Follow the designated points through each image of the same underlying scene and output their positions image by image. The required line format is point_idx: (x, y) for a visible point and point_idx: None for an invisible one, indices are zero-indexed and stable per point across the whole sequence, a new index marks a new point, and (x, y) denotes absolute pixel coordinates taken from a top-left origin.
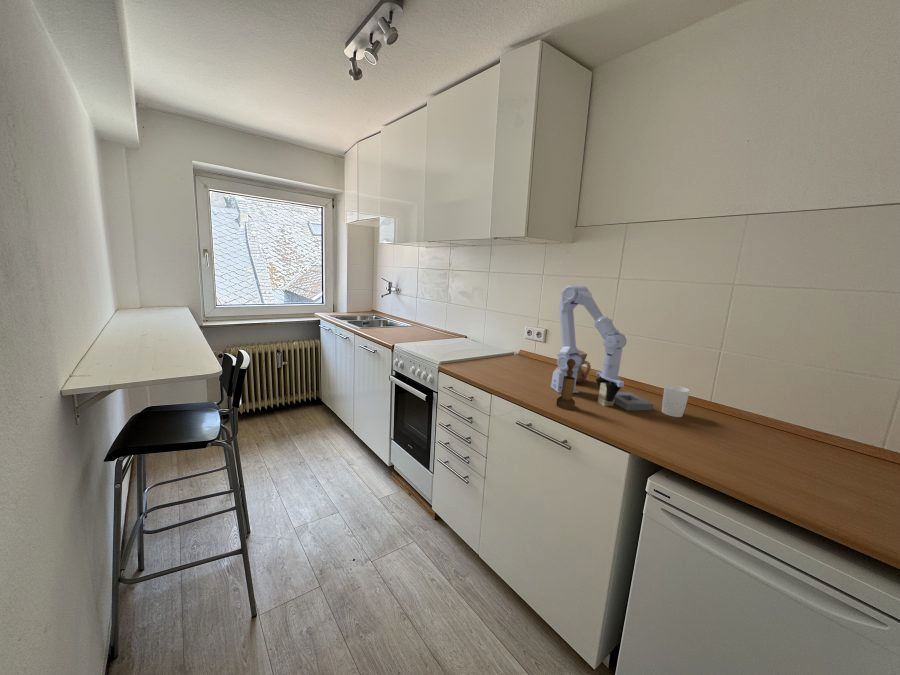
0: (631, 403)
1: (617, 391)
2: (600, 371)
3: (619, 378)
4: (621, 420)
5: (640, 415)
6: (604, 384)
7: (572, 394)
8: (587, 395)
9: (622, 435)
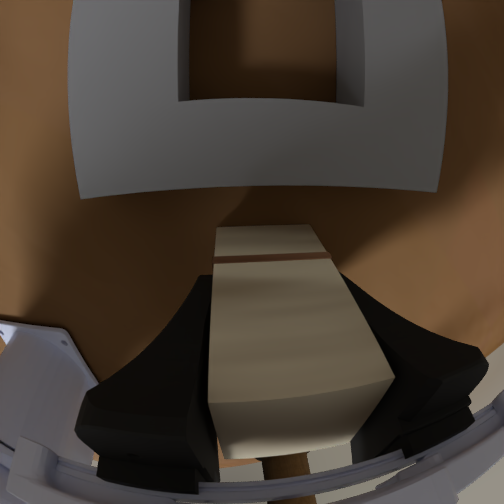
0: (436, 142)
1: (415, 330)
2: (17, 491)
3: (443, 471)
4: (463, 298)
5: (471, 145)
6: (298, 451)
7: (303, 467)
8: (87, 298)
9: (492, 339)
